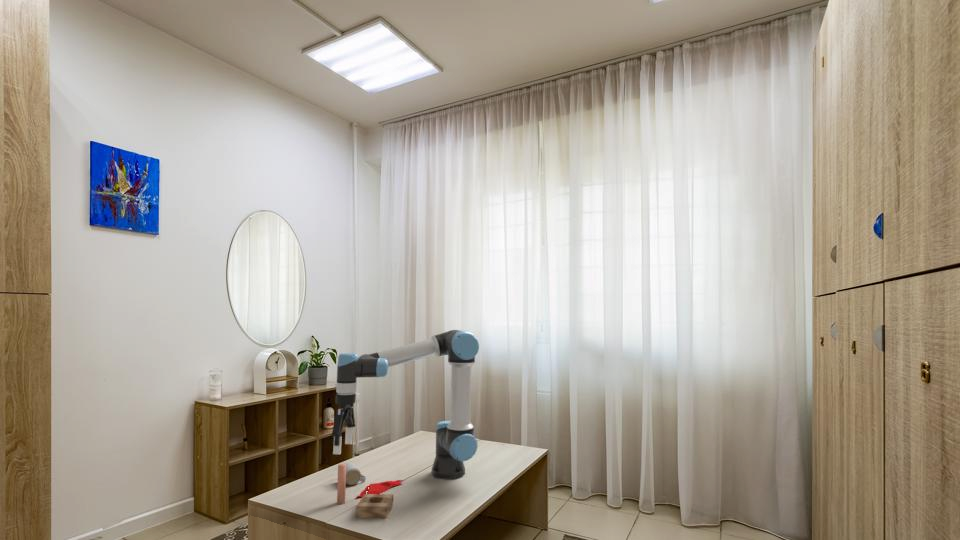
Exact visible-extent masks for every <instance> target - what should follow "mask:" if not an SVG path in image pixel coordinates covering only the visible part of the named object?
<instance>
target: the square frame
mask: <svg viewBox="0 0 960 540" xmlns="http://www.w3.org/2000/svg"><path fill="white" fill-rule="evenodd" d="M394 498H395V497H394V494H392V493H390V494H389V493H388V494H387V493H386V494H384V493H381V494H364V496H363V497H361V499H360V500H359V502H358V503H357V505H356V510H355V512H356V513H355V514H356V515H355V518H361V519H362V518H365V519H387V518H388V517H389V515H390V512H391V511H392V509H393V507H394Z"/></svg>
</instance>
